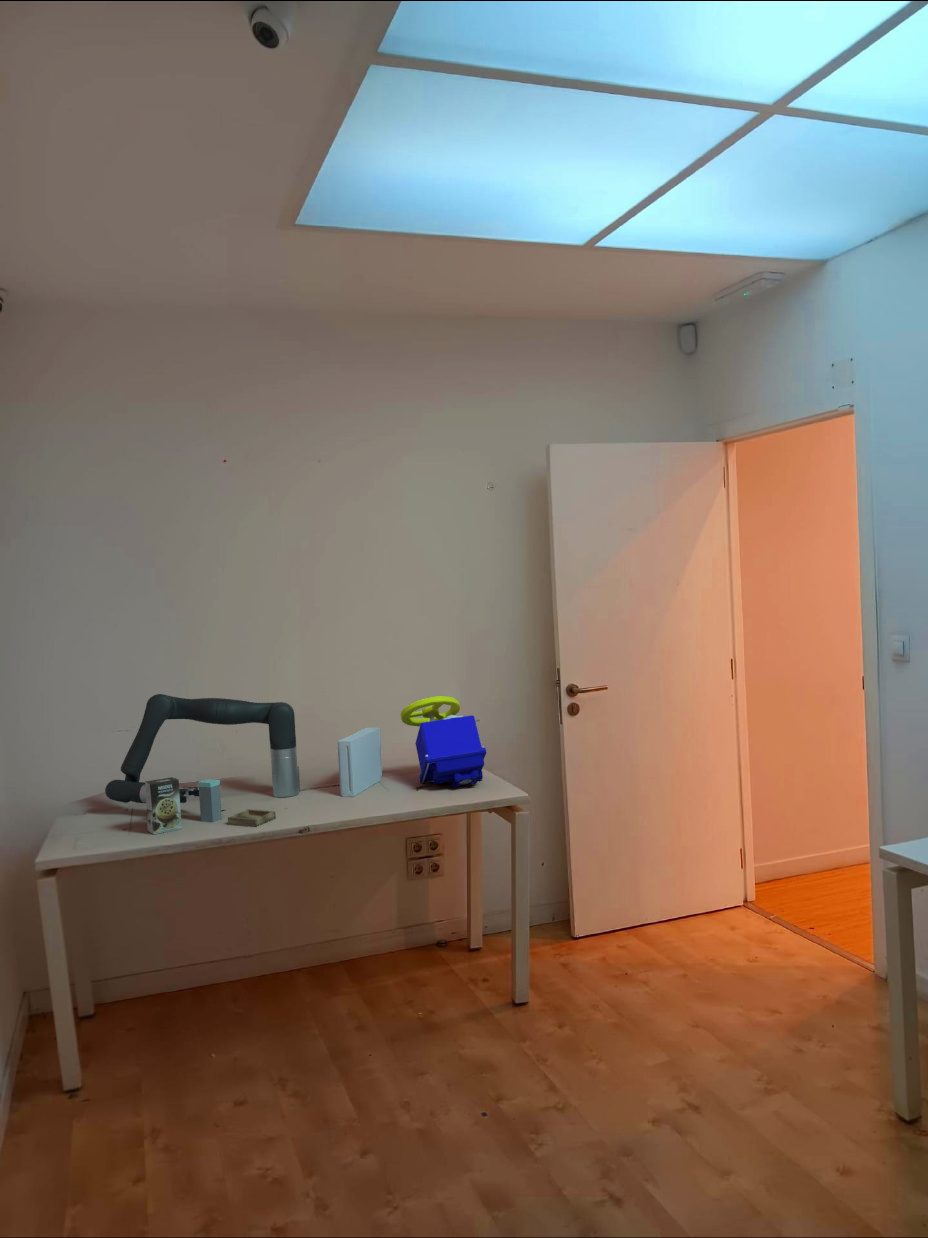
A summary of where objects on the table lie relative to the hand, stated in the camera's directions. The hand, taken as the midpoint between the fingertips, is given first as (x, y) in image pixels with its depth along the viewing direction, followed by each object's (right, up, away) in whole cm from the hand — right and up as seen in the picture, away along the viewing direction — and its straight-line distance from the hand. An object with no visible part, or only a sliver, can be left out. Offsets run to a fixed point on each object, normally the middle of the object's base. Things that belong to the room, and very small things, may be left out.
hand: (194, 796), depth 311 cm
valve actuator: (+82, -2, +33) cm, 89 cm away
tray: (+21, -7, -7) cm, 23 cm away
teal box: (+6, -7, -2) cm, 10 cm away
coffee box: (-6, -9, -12) cm, 16 cm away
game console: (+52, -3, +34) cm, 62 cm away
